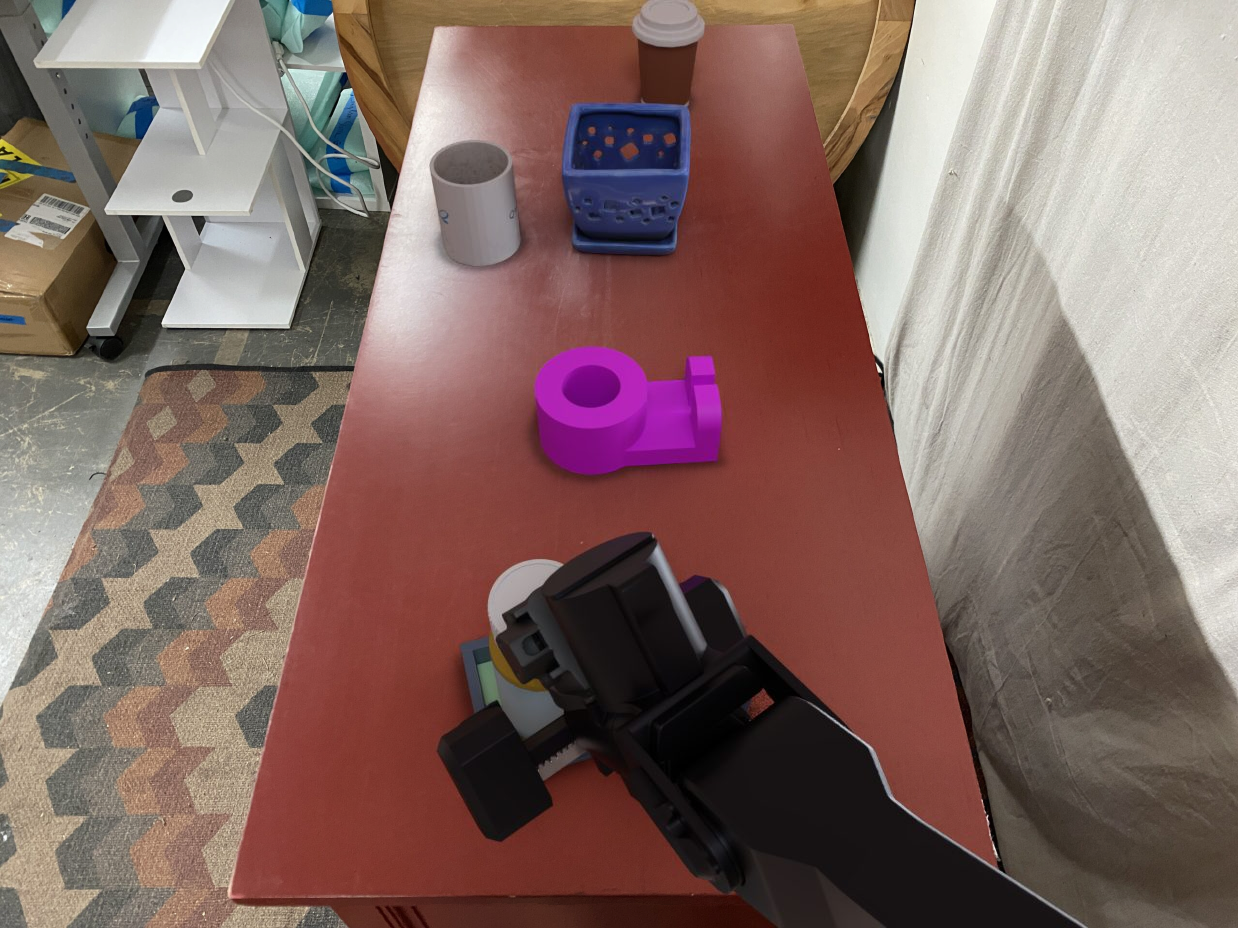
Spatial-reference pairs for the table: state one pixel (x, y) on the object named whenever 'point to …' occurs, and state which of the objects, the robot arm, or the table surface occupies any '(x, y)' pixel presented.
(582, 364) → the tape dispenser
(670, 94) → the coffee cup
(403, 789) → the table surface
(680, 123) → the flower pot
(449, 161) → the mug
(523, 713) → the bottle
